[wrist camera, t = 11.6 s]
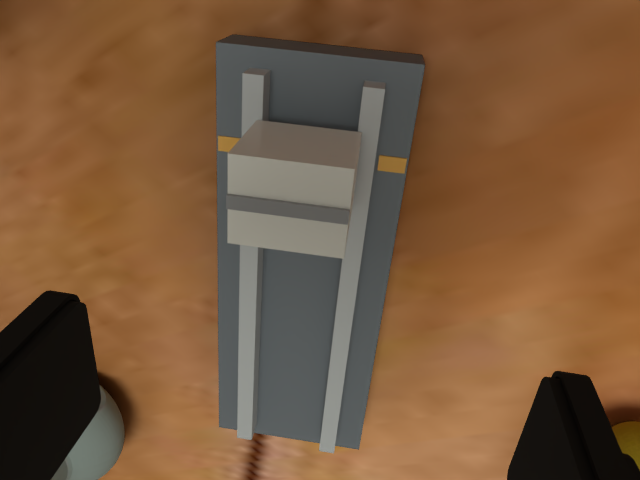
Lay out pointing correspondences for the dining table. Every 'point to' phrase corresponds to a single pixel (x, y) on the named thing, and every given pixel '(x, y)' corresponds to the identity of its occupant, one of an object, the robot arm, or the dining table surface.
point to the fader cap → (292, 188)
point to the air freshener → (96, 444)
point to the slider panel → (305, 269)
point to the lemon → (629, 439)
